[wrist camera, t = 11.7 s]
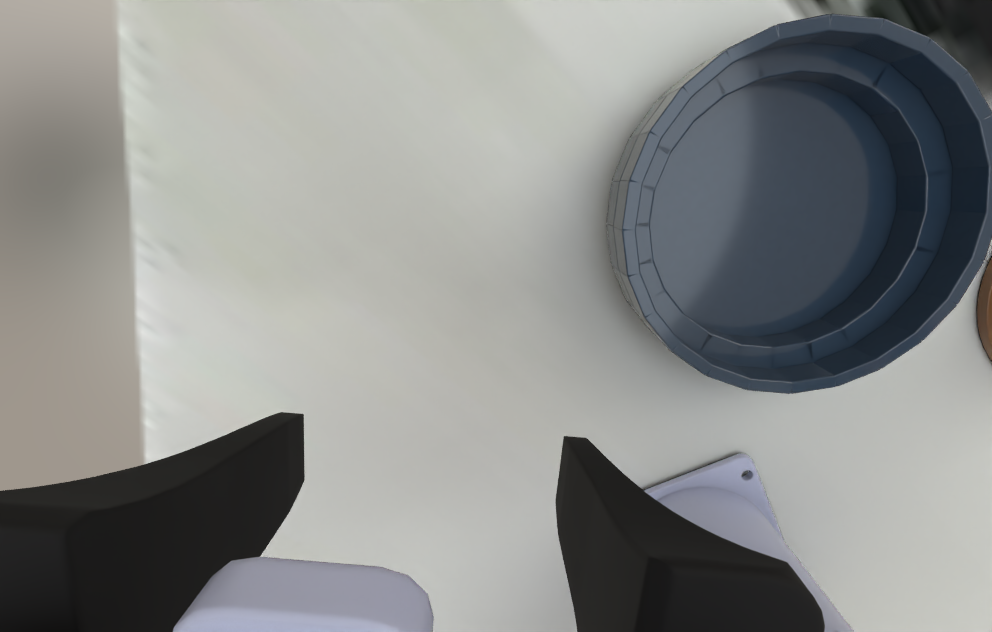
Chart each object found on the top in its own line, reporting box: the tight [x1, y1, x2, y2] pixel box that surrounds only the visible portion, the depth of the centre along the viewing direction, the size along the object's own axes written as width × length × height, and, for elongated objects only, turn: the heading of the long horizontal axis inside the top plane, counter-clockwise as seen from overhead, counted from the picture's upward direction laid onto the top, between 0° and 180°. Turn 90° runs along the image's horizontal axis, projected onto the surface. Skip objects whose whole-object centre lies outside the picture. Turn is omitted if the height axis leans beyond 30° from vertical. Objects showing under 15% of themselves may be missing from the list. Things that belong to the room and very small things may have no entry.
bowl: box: [606, 14, 992, 394], centre depth 20 cm, size 13×13×4 cm
